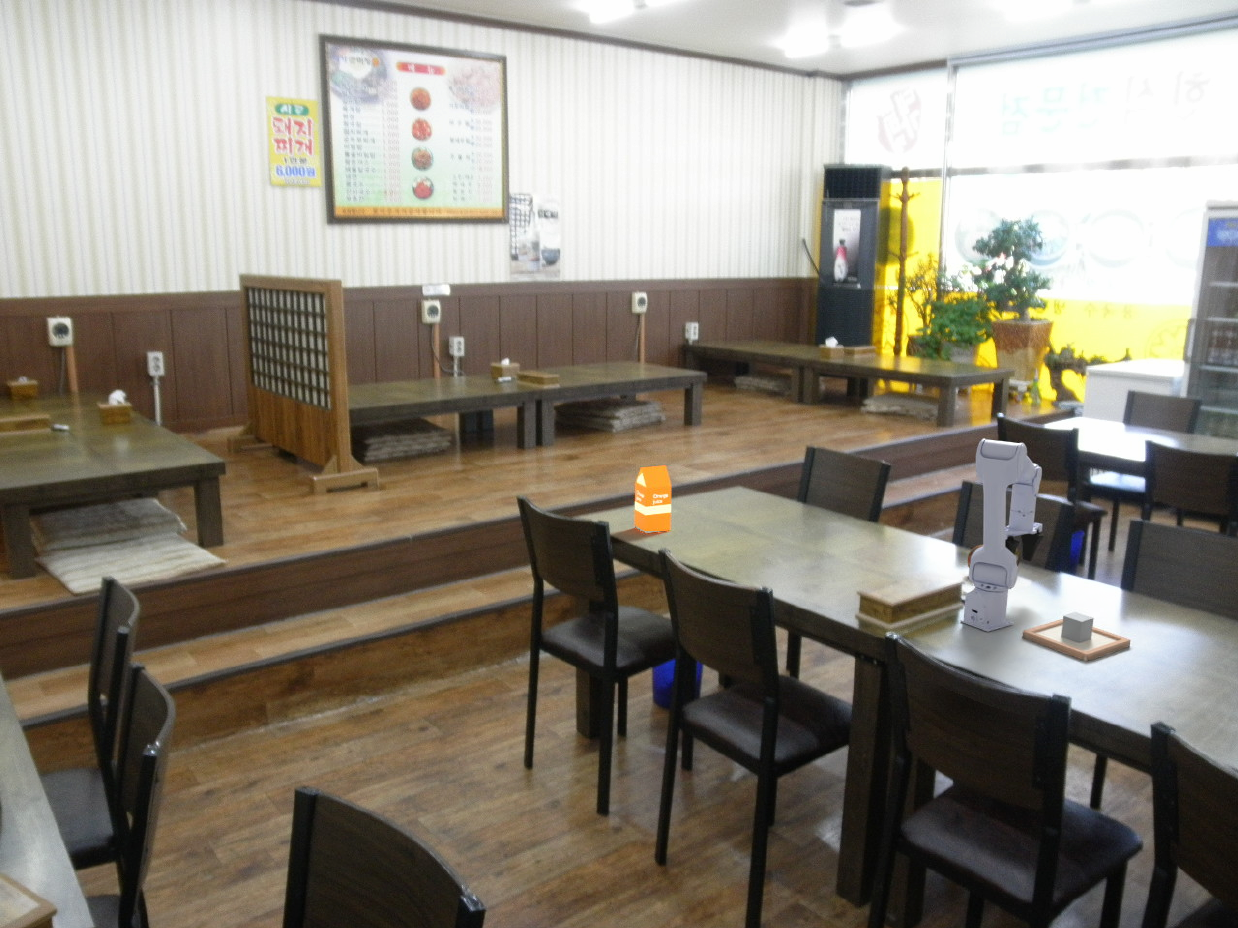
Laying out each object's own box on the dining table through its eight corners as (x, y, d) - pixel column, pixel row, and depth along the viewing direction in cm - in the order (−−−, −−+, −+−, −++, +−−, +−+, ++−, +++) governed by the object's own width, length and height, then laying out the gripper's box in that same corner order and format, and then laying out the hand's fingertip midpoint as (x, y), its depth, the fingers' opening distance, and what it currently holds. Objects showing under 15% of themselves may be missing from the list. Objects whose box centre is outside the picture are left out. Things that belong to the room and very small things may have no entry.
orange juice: (634, 527, 321) (635, 465, 317) (659, 524, 325) (660, 462, 321) (645, 534, 314) (646, 470, 310) (671, 531, 318) (672, 467, 314)
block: (1079, 643, 229) (1081, 621, 228) (1061, 636, 233) (1063, 615, 232) (1091, 638, 232) (1093, 617, 231) (1072, 632, 235) (1075, 611, 234)
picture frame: (1086, 661, 222) (1087, 654, 221) (1022, 637, 235) (1023, 630, 234) (1129, 646, 230) (1130, 639, 230) (1065, 624, 243) (1066, 617, 243)
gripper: (1017, 517, 249) (1012, 571, 252) (1054, 509, 256) (1049, 562, 259) (993, 511, 254) (988, 563, 257) (1030, 503, 262) (1025, 554, 265)
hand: (1017, 562), depth 259 cm, fingers open, 7 cm apart
